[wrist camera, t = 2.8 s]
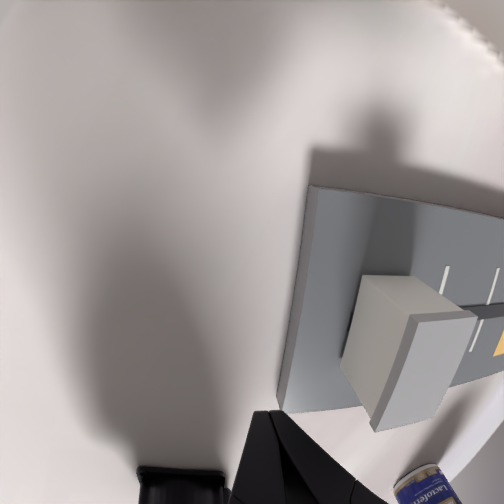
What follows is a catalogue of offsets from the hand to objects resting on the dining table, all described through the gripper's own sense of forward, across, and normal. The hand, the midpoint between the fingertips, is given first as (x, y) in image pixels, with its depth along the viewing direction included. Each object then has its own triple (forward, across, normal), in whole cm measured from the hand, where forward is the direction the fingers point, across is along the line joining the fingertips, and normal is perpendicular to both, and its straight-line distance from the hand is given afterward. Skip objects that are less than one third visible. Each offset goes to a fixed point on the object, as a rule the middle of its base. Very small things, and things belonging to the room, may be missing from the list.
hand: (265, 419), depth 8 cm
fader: (+6, -7, 0) cm, 9 cm away
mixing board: (+7, -14, 0) cm, 15 cm away
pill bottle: (+8, -20, +22) cm, 31 cm away
